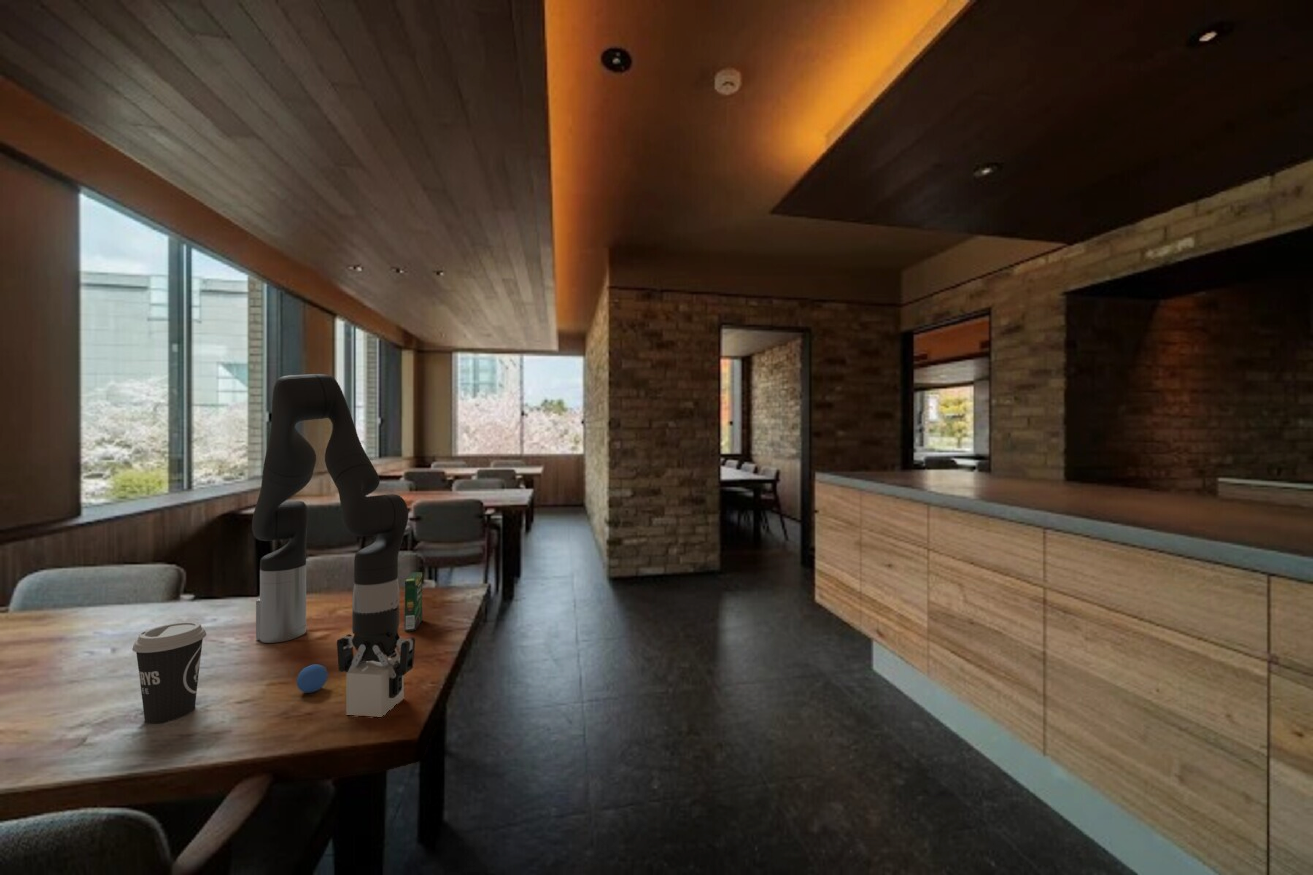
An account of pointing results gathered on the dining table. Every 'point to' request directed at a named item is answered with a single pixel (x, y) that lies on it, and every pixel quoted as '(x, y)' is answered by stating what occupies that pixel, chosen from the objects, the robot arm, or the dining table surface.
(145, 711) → the coffee cup
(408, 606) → the coffee box
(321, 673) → the blue egg
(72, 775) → the dining table surface
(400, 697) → the block
